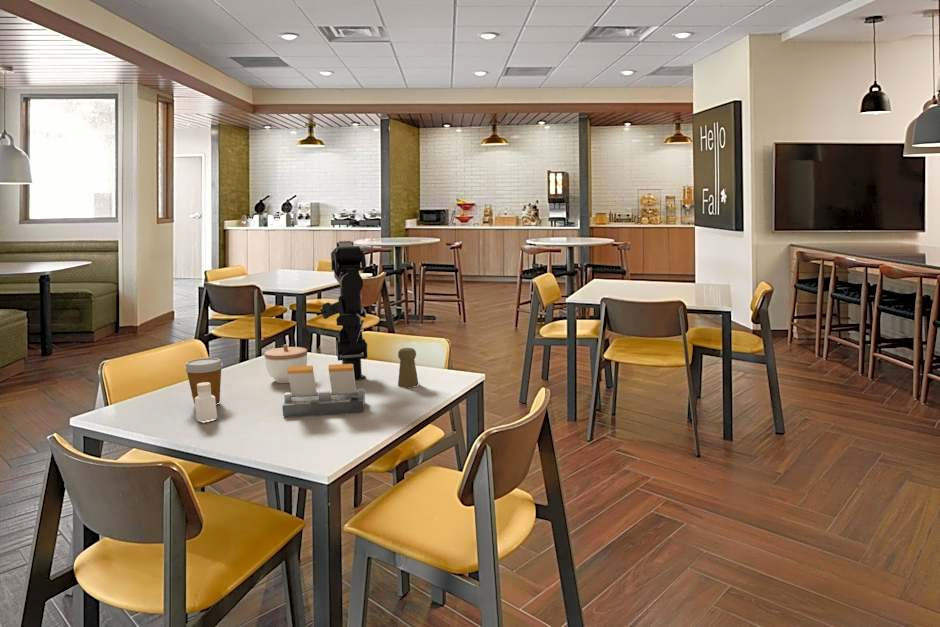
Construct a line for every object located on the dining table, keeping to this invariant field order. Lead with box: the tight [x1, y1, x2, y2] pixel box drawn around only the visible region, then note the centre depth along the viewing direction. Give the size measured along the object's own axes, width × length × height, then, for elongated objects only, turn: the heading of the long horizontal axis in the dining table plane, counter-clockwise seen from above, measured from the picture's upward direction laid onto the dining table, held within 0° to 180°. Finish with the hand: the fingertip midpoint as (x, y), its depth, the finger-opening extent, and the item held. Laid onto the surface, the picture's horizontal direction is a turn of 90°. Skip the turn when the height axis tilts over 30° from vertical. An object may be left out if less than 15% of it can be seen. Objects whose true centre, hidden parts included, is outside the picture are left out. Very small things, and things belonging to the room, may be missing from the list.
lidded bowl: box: [264, 344, 308, 384], centre depth 204 cm, size 13×13×11 cm
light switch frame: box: [282, 388, 366, 417], centre depth 173 cm, size 9×20×5 cm, turn 96°
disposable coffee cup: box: [184, 357, 224, 405], centre depth 180 cm, size 10×10×12 cm
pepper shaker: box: [397, 347, 419, 388], centre depth 195 cm, size 6×6×11 cm
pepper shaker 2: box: [194, 382, 218, 421], centre depth 166 cm, size 4×4×10 cm
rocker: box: [328, 363, 358, 395], centre depth 170 cm, size 1×7×10 cm
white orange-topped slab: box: [287, 365, 319, 397], centre depth 169 cm, size 1×7×10 cm
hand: (353, 346), depth 188 cm, fingers closed
